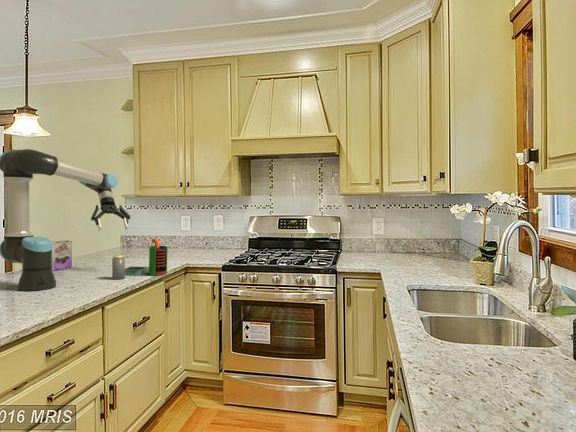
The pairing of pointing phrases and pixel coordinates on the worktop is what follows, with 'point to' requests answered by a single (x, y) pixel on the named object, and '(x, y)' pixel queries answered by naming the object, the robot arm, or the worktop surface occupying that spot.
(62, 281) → the worktop surface
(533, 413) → the worktop surface
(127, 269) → the teal square tray
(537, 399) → the worktop surface
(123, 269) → the grey cylindrical canister
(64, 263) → the candy box
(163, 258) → the motor
